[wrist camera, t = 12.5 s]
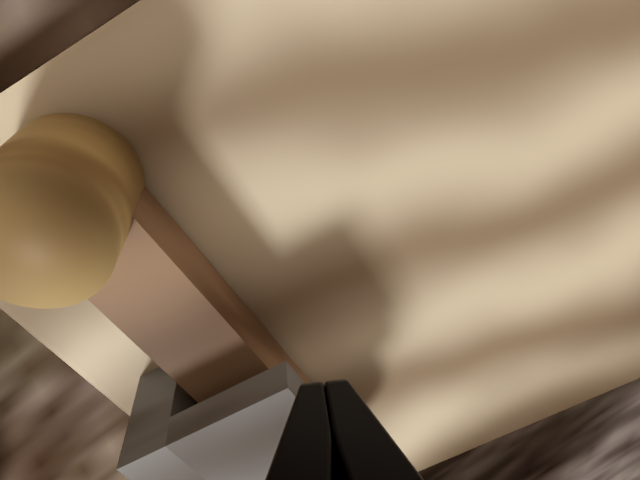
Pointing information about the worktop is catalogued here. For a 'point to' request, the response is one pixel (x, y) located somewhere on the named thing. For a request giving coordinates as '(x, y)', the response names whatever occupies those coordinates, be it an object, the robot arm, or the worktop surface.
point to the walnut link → (119, 255)
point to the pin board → (371, 210)
